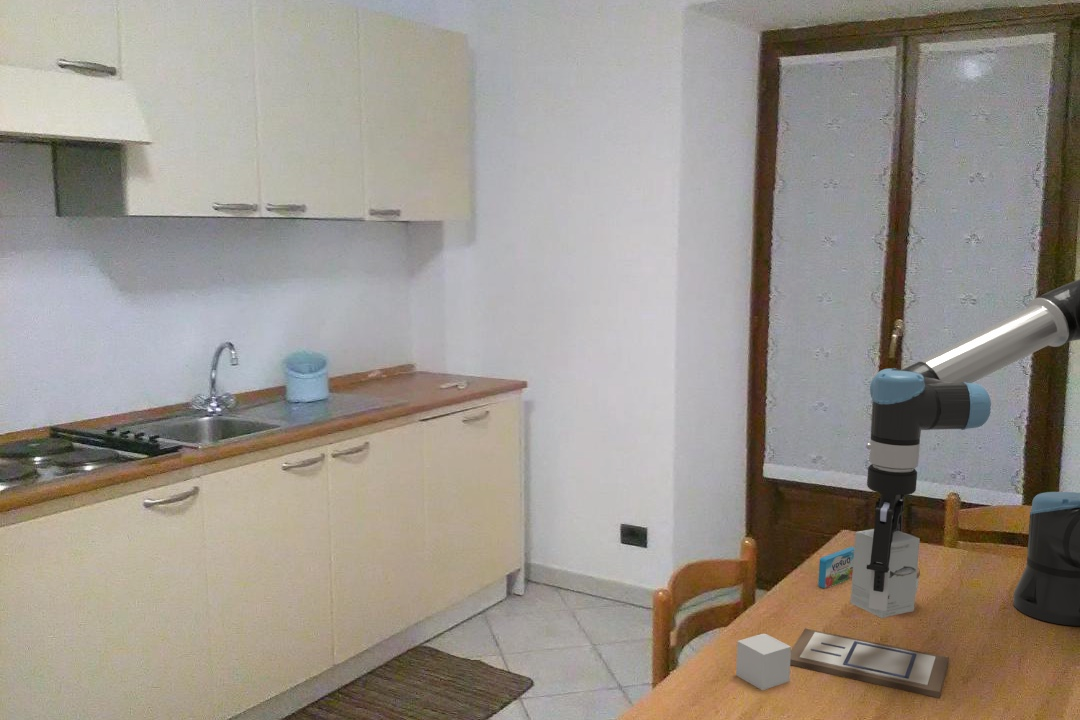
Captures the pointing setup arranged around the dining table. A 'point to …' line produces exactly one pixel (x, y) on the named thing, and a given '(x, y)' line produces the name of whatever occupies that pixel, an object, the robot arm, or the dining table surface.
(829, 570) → the yogurt
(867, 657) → the brown framed board
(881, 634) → the dining table surface
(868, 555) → the supplement box
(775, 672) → the gray cube
